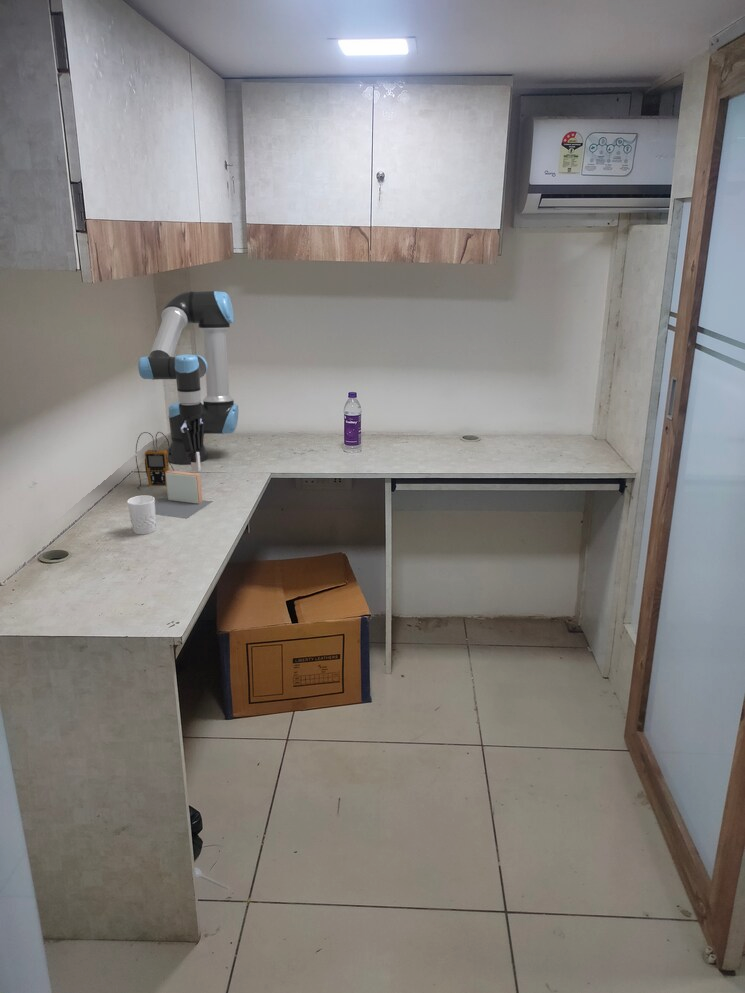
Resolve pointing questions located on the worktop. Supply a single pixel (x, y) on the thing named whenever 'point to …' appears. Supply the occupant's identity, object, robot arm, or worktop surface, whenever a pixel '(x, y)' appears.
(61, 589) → the worktop surface
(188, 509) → the mat
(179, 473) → the tile
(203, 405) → the robot arm
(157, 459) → the multimeter
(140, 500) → the white cup
